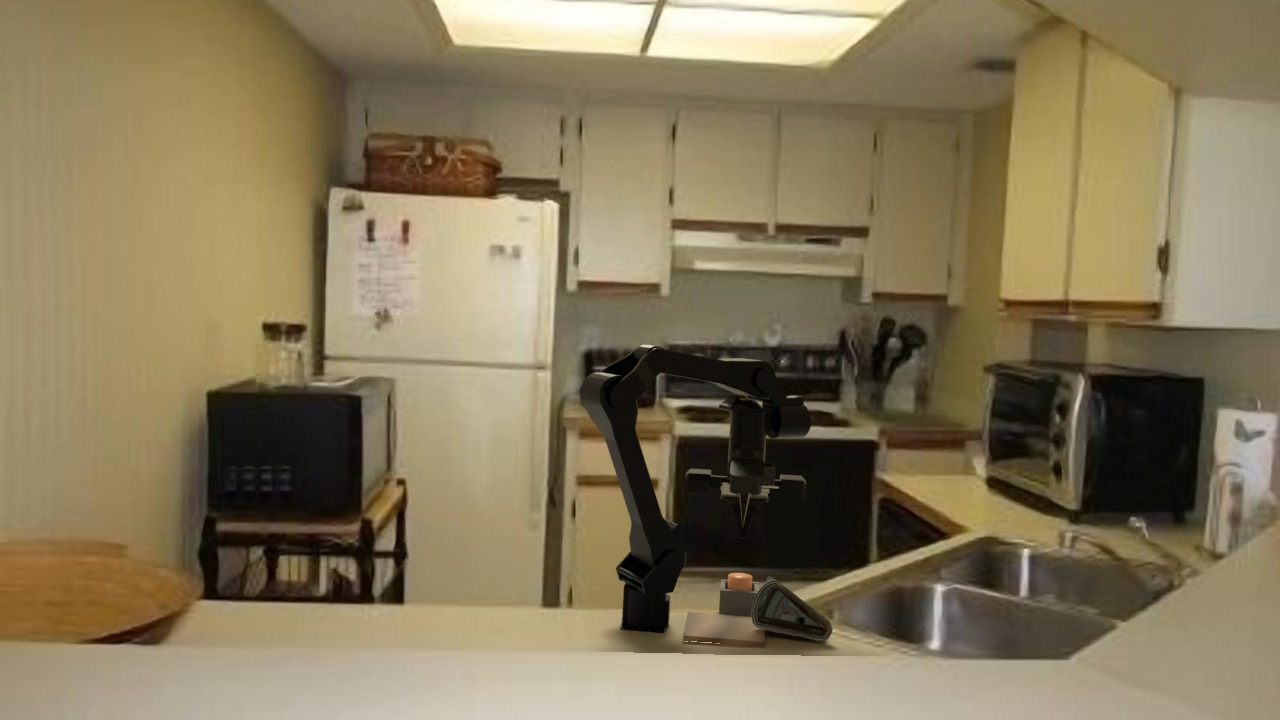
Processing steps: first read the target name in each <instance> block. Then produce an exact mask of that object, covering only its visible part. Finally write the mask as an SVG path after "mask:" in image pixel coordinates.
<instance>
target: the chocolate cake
mask: <svg viewBox="0 0 1280 720" xmlns="http://www.w3.org/2000/svg"><path fill="white" fill-rule="evenodd" d="M752 604H753V605H752V611H751V618H752V622H753V624H754V625H755V626H756V627H757V628H761V629H764V631H766V630H767V631H769V632H773V633H779V634H784V635H789V636H792V637H799V638H803V639H809V640H813V641H817V642H825V641H828V640H829V639H830V637H831V635H832V634H833V630H834V629H833V625H832V623H831V622H830V620H829V619H828V618H826V616H824V615H823V614H820V612H818V611H817V610H815V609H814V608H813V606H810V605H809V604H808V603H807V602H805V601H804V600H803V599H802V598H801V597H799V596H798V595H797V594H795V593H794V592H793V591H791V589H789V588H787V587H786V586H784V585H783V584H782V583H781V582H780V581H778V580H777V579H775V578H774V576H773V577H772V576H771V575H767V576H766V578H765V583H764V584H763V585H762V586H761V587H760V588H759V591H758V592H757V594H756V597H755V599H754V601H753V603H752Z"/></svg>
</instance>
